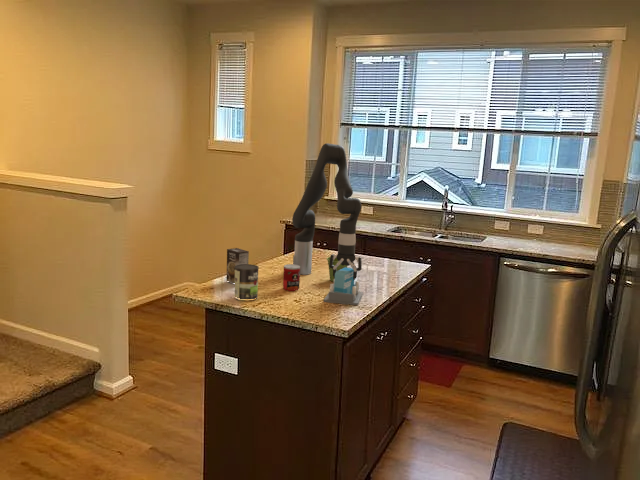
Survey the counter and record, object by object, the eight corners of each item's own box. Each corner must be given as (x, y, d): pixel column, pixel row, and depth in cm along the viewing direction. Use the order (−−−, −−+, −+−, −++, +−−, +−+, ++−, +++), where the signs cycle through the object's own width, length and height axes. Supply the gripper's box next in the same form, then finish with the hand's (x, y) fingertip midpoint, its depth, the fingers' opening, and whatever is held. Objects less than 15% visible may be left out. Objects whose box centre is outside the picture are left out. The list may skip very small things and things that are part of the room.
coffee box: (225, 281, 266) (226, 249, 264) (236, 279, 271) (237, 247, 268) (237, 286, 260) (238, 252, 257) (248, 283, 265) (249, 250, 262)
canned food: (287, 291, 255) (287, 268, 253) (280, 287, 262) (280, 264, 260) (302, 290, 258) (303, 267, 256) (294, 286, 265) (295, 263, 263)
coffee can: (262, 297, 244) (263, 266, 241) (247, 302, 235) (248, 270, 233) (244, 293, 249) (245, 262, 247) (229, 298, 241) (229, 266, 238)
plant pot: (353, 281, 279) (355, 259, 277) (338, 285, 270) (339, 262, 268) (336, 276, 287) (337, 255, 285) (320, 280, 278) (321, 258, 276)
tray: (323, 301, 242) (324, 286, 241) (331, 291, 259) (331, 276, 258) (357, 305, 239) (358, 289, 238) (362, 294, 257) (363, 279, 255)
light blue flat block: (342, 299, 243) (344, 273, 241) (333, 298, 245) (334, 271, 243) (353, 293, 253) (355, 268, 251) (344, 291, 255) (346, 266, 253)
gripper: (329, 243, 242) (327, 278, 245) (361, 245, 240) (359, 282, 243) (332, 239, 249) (330, 274, 253) (363, 242, 247) (361, 278, 250)
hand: (344, 278), depth 248 cm, fingers open, 8 cm apart
